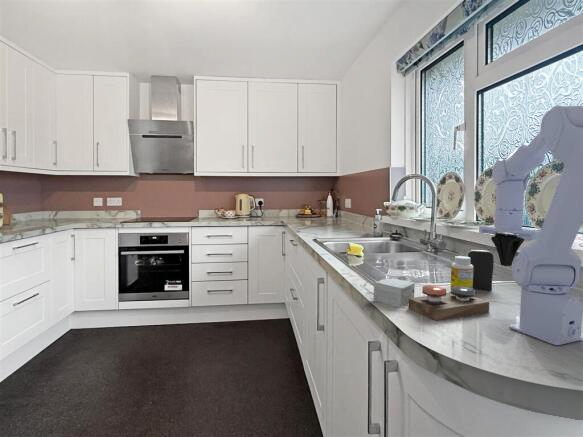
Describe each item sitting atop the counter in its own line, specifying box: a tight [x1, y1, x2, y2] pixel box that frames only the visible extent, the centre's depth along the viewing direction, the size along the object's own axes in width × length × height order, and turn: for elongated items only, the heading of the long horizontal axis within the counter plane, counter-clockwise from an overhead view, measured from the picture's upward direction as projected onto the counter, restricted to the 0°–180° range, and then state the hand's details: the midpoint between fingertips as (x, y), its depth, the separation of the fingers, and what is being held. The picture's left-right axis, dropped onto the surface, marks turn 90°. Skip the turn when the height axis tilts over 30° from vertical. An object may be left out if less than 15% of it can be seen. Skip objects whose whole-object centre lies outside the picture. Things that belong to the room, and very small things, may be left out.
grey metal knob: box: [450, 286, 476, 302], centre depth 85 cm, size 5×5×4 cm
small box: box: [372, 277, 416, 308], centre depth 91 cm, size 8×8×5 cm
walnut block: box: [407, 292, 490, 322], centre depth 83 cm, size 9×16×2 cm, turn 111°
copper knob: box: [421, 284, 447, 306], centre depth 82 cm, size 5×5×4 cm
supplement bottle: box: [450, 255, 473, 289], centre depth 98 cm, size 6×6×10 cm
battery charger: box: [466, 249, 495, 291], centre depth 103 cm, size 7×4×11 cm, turn 66°
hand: (506, 265), depth 85 cm, fingers closed
